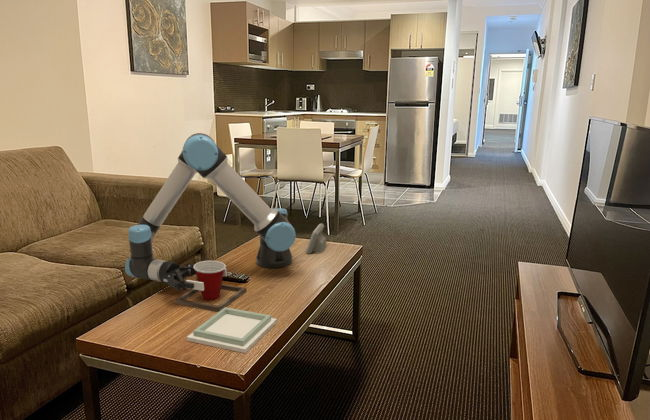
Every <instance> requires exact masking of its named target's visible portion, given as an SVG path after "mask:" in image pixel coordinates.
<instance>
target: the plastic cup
mask: <svg viewBox="0 0 650 420" xmlns="http://www.w3.org/2000/svg"><path fill="white" fill-rule="evenodd" d="M194 264H195V265H194V266H193V267H194V270H195V272H196V279H197V281H198V282H204V290H203V291H200V294H201V297H202V300H203V301H205V302H209V301H210V302H212V301H216V300H218V299H219V298H220V296H221V291H222V289H221V284H223V277H224V276H223V272H224V269H225V268H226V267H227V266H226V264H225V263H224V262H222V261H219V260H210V259H209V260H203V261H198V262H196V263H194ZM226 269H227V268H226Z"/></svg>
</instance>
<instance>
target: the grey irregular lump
mask: <svg viewBox="0 0 650 420" xmlns="http://www.w3.org/2000/svg"><path fill="white" fill-rule="evenodd" d="M324 228H325V225H324V223H322V222H321V223H319V224H318V225H317V226H316V228H315V229H314V230H313V231H312V233H311V236H310V239H309V242H308V243H307V247H306V250H305V252H306V254H308V255H309V254H312V253H322V254H323V252H324V251H325V248H326V247H327V238H326V236H324V235H323V231H324Z"/></svg>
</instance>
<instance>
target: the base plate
mask: <svg viewBox="0 0 650 420" xmlns="http://www.w3.org/2000/svg"><path fill="white" fill-rule="evenodd" d="M277 323H278V319H277V318H274V317H272V315H271V314H265V313H259V312H253V311H249V310H242V309H238V308H232V307H228V306H226V307H225V308H223V309H222V310H221V311H219V312H216V313H215V314H214V315H212V316H211V317H210V318H208V319H207V320H205V321H204V322H203V323H201V324H200V325H199V326H197V327H196V328H195V329H194V330H193V331H192V332H191V333H190V334H188V335H187V336H186V341H187V342H191V343H196V344H200V345H206V346H209V347H215V348H218V349H225V350H228V351H233V352H237V353H242V354H247V353H248V352H249V350H251V349H252V347H254V346H255V345H256V344H257V343H258V342H259V341H260V340H261V339H262V338H263V337H264V336H265V335H266V334H267V333H268V332H269V331H270V330H271V329H272V328H273V327H274V326H275V325H276V324H277Z"/></svg>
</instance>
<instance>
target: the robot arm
mask: <svg viewBox="0 0 650 420" xmlns="http://www.w3.org/2000/svg"><path fill="white" fill-rule="evenodd" d="M177 160H178V162H177V164H176V165H175V166H174V168H173V169H172V172H171V173H170V174H169V176H168V178H166V180H165V182H164V183H163V185H162V187H161V188H160V190H159V191H158V193H157V194H156V196H155V197H154V198H153V200H152V202H151V203H150V205H149V206H148V208H147V209H146V211H144V214H143V215H142V217H141V219H140V220H139V222H138V223H137V224H136V225H132V226H130V227H128V230H127V231H128V235H127V237H128V243H129V252H130V257H128V258H127V260H126V261H125V266H124V271H125V273H126V275H127V276H129V277H132V278H136V279H143V280H150V281H155V282H158V283H160V282H162V283H163V284H165V285H168V286H169V287H171V288H172V289H174V290H175V291H182V292H184V291H186V289H189V290H191V289H194V290H200V291H199V292H201V291H203V290H204V282H198V280H191V279H186V278H188V277H189V278H190V277H193V276H195V275H196V272H195V270H194V267H193V266H194V265H195V264H196V263H193V264H192V263H187V264H185V265H186V266H180V265H179V264H178V263H177V262H176V261H170V260H164V259H155V258H154V254H153V253H154V252H153V240H154V237H155V236H156V234H157V233H158V231H159V229H160V228H161V226H162V225H163V223H164V222H165V220H166V219H167V218H168V216H169V214H170V213H171V212H172V209H174V207H175V205H176V204H177V202H178V201H179V199H180V198H181V197H182V195H183V193H184V192H185V190H186V189H187V188H188V186H189V184H190V183H191V181H192V180H193V178H194V177H195V175H196V174H197V173H198V174H199V175H200V176H201V177H202V178H203V179H208V180H211V182H213V184H215V186H216V187H218V189H219V190H220V191H221V192H222V193H223V194H224V195H225V196H226V197H227V198H228V199H229V200H230V201H231V202H232V203H233V204H234V205H235V206H236V207H237V208H238V209H239V211H240V212H242V213H243V214H244V215H245V217H246V218H248V219H249V220H250V221H251V223H252V224H253V225H254V227H253V228H254V229H253V230H254V231H255V232H256V234H257V235H259V246H258V251H257V255H256V259H255V260H256V262H255V263H256V265H258V266H259V267H263V268H267V269H278V268H285V267H287V266H290V265H291V264H292V263H293V254H292V252H291V249H290V248H291V247H292V246H293V245H294V243H295V240H296V239H297V237H296V230H295V227H294V226H293V225H292V224H291V223H290V222H289V220H288V215H289V214H288V210H287V209H286V208H281V207H280V208H279V207H276V208H275V207H273V208H272V207H271V208H270V206H269V205H268V204H267V203H266V202H265V201H264V200H263V199H262V198H261V196H260V195H258V193H256V191H255V190H254V189H253V188H252V187H251V186H250V185H249V184H248V183H247V182H246V181H245V180H244V179H243V178H242V177H241V176H240V174H238V172H237V171H236V170H235V169H234V168H233V167H232V166H231V164H229V163H228V156H227V154H226V153H225V152H224V151H223V150H222V149H221V147H219V145H217V144H216V142H215V140H214V139H213V138H212V137H211V136H209V135H208V134H206V133H202V132H198V133H197V132H196V133H194V134H191V135H190V136H188V138H187V139H186V140H185V142H184V144H183V146H182V151H181V152H180V154H179V156H178V157H177ZM196 276H197V275H196ZM227 276H228V272H227V268H225V269H224V272H223V277H227ZM185 279H186V280H185Z"/></svg>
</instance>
